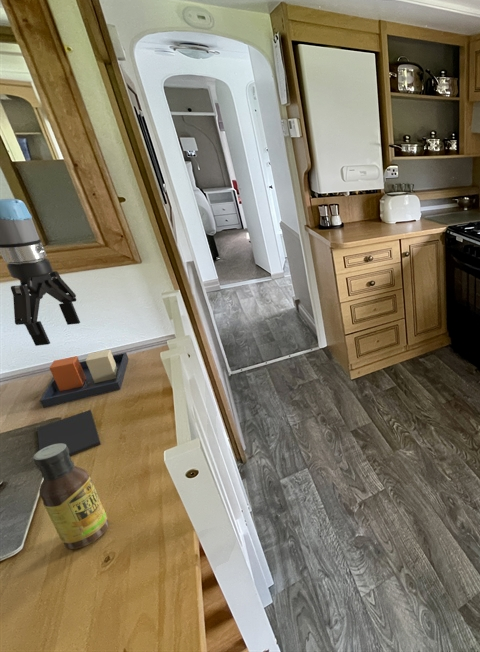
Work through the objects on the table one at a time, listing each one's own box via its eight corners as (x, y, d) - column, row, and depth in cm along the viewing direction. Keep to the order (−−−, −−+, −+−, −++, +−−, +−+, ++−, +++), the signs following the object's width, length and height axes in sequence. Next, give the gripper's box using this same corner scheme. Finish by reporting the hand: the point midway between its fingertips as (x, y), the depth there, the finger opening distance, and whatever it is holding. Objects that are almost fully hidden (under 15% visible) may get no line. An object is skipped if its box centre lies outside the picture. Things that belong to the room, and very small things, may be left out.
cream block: (97, 375, 118) (88, 353, 115) (118, 371, 121) (110, 349, 118) (94, 383, 115) (85, 360, 112) (116, 378, 117) (107, 356, 114)
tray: (63, 374, 120) (59, 366, 118) (129, 360, 128) (126, 352, 127) (44, 409, 104) (39, 400, 102) (121, 391, 112) (117, 382, 111)
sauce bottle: (97, 547, 69) (55, 463, 61) (56, 554, 67) (8, 470, 60) (118, 516, 74) (83, 436, 67) (81, 522, 73) (40, 441, 66)
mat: (41, 467, 85) (40, 464, 85) (38, 430, 96) (37, 427, 96) (100, 444, 92) (99, 441, 92) (91, 411, 103) (90, 409, 103)
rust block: (64, 383, 114) (53, 360, 111) (86, 378, 117) (77, 355, 114) (59, 391, 110) (49, 368, 107) (83, 386, 113) (73, 363, 110)
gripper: (10, 273, 88) (46, 352, 96) (74, 248, 110) (99, 314, 118) (-33, 275, 86) (8, 356, 94) (41, 250, 108) (69, 317, 116)
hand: (59, 333), depth 106 cm, fingers open, 13 cm apart
